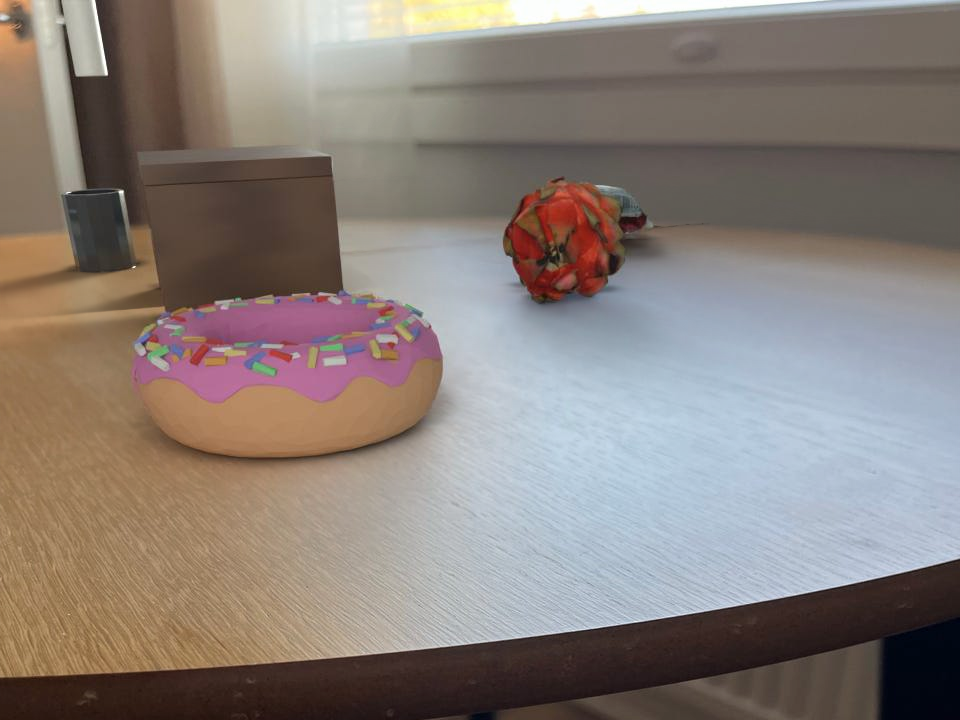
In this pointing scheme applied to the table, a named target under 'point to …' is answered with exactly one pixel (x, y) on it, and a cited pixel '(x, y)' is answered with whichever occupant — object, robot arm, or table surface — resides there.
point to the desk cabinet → (241, 223)
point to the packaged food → (627, 210)
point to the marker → (84, 37)
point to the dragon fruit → (565, 240)
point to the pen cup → (99, 230)
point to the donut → (288, 373)
